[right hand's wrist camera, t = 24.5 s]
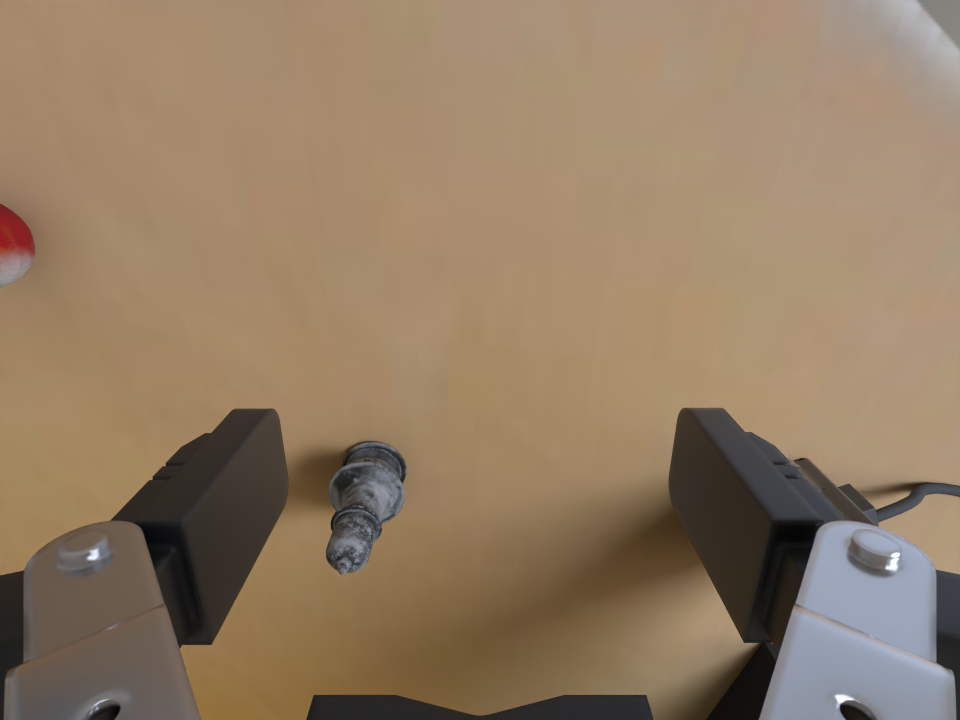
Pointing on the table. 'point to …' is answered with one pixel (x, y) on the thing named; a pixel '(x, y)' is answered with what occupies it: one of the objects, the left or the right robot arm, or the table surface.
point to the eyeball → (14, 247)
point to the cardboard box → (749, 688)
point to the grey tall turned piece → (363, 502)
